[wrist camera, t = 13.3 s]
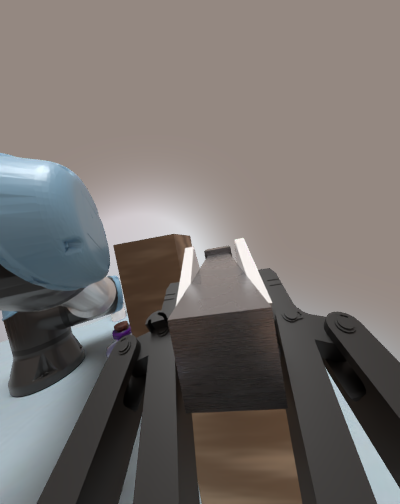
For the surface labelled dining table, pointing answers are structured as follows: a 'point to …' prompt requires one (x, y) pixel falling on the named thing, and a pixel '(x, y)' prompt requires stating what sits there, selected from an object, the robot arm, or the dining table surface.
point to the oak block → (245, 458)
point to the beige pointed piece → (118, 315)
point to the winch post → (149, 274)
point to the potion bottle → (119, 334)
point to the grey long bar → (226, 341)
